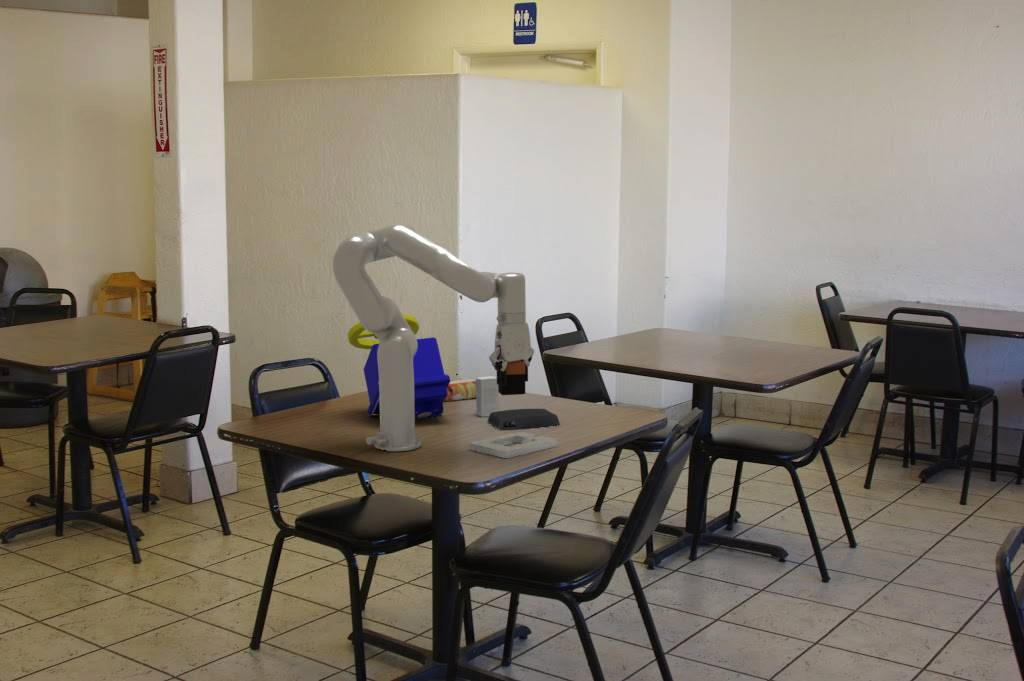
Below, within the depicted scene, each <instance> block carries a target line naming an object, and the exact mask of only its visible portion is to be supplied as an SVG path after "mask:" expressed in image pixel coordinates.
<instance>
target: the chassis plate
mask: <svg viewBox="0 0 1024 681" xmlns="http://www.w3.org/2000/svg"><path fill="white" fill-rule="evenodd" d="M516 443H517V444H516ZM514 444H516V445H514ZM468 445H469V446H468V449H469V451H471V450H473V451H472V452H475V451H477V452H476V453H479V452H481V453H480V454H483V453H485V454H484V455H487V454H490V455H489V456H491V455H495V456H494V457H496V456H499V457H498V458H500V457H502V458H501V459H504V458H507V459H511V458H514V457H515V456H516V457H519V455H520V456H523V455H524V456H525V455H527V454H532V453H536V452H539V451H543V450H548V449H551V448H552V449H553V448H555V447H557V446H558V439H557V438H553V437H548V436H544V435H543V436H542V435H541V436H537V437H535V434H534V433H528V432H525V431H516V432H513V433H508V434H502V435H499V436H494V437H490V438H485V439H481V440H475V441H471V442H469V443H468ZM504 445H505V446H504ZM509 445H511V446H509Z"/></svg>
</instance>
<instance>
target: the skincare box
mask: <svg viewBox="0 0 1024 681" xmlns="http://www.w3.org/2000/svg"><path fill="white" fill-rule="evenodd" d="M475 378H476V398H475V403H476V404H475V405H476V408H475V410H476V416H479V417H480V416H481V418H484V417H485V418H486V417H489V415H490V413H492V412H497V411H500V410H499V406H500V405H499V392H498V385H497V376H494V375H490V376H489V375H488V376H478V377H475Z"/></svg>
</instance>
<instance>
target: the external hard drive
mask: <svg viewBox="0 0 1024 681" xmlns="http://www.w3.org/2000/svg"><path fill="white" fill-rule="evenodd" d="M486 423H487V424H488V423H489V424H488V425H490V424H491V425H492V426H491V425H490V426H491V427H493V426H494V427H493V428H495V427H496V428H497V429H496V428H495V429H496V430H498V429H499V430H500V431H501V430H502V431H517V430H519V429H520V430H530V429H531V428H534V429H541V428H540V427H545V428H550V427H549V426H555V427H560V426H561V423H560V420H559V418H558V415H557V414H556V413H554V412H550V411H549V410H547V409H545V408H518V409H517V408H515V409H514V408H513V409H504V410H499V411H497V412H492V413H490V415H489V416H488V418H487V421H486ZM557 425H558V426H557ZM559 425H560V426H559ZM499 430H498V431H499ZM531 430H532V429H531Z"/></svg>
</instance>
